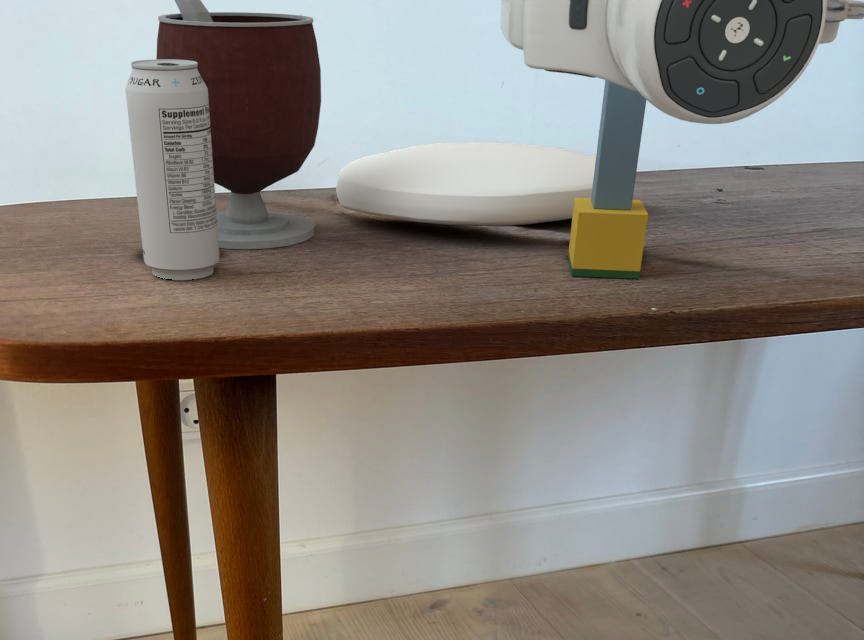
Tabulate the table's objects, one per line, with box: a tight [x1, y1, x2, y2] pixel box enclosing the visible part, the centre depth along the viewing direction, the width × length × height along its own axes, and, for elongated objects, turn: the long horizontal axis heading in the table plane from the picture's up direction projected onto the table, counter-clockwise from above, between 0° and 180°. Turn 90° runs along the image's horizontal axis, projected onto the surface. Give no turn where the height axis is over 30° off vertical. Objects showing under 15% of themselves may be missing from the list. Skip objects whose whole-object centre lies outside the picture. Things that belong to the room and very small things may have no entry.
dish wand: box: [567, 80, 649, 280], centre depth 84 cm, size 6×6×16 cm
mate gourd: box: [155, 0, 322, 250], centre depth 92 cm, size 16×14×20 cm
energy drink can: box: [124, 59, 221, 281], centre depth 81 cm, size 6×6×15 cm
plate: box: [335, 141, 596, 227], centre depth 103 cm, size 28×6×27 cm
